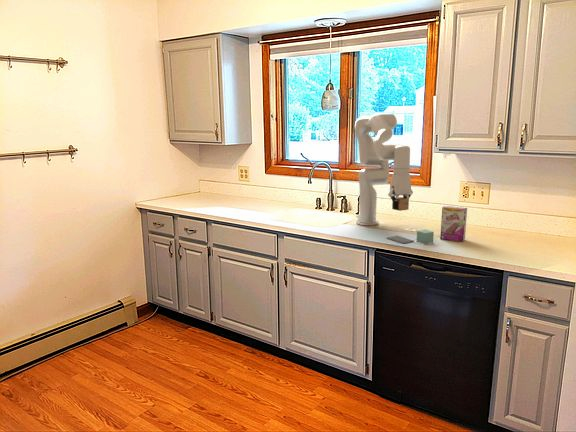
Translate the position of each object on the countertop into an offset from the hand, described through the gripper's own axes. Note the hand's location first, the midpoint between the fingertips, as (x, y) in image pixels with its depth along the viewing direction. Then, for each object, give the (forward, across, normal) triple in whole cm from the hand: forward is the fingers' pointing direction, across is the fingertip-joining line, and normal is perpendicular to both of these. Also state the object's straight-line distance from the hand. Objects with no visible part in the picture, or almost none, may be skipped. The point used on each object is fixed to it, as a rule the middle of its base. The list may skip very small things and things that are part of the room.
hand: (400, 208), depth 232 cm
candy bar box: (+16, -23, +13) cm, 31 cm away
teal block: (+16, -8, +9) cm, 20 cm away
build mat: (+16, 0, 0) cm, 16 cm away
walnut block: (+1, 0, 0) cm, 1 cm away
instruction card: (+16, -20, -13) cm, 28 cm away
